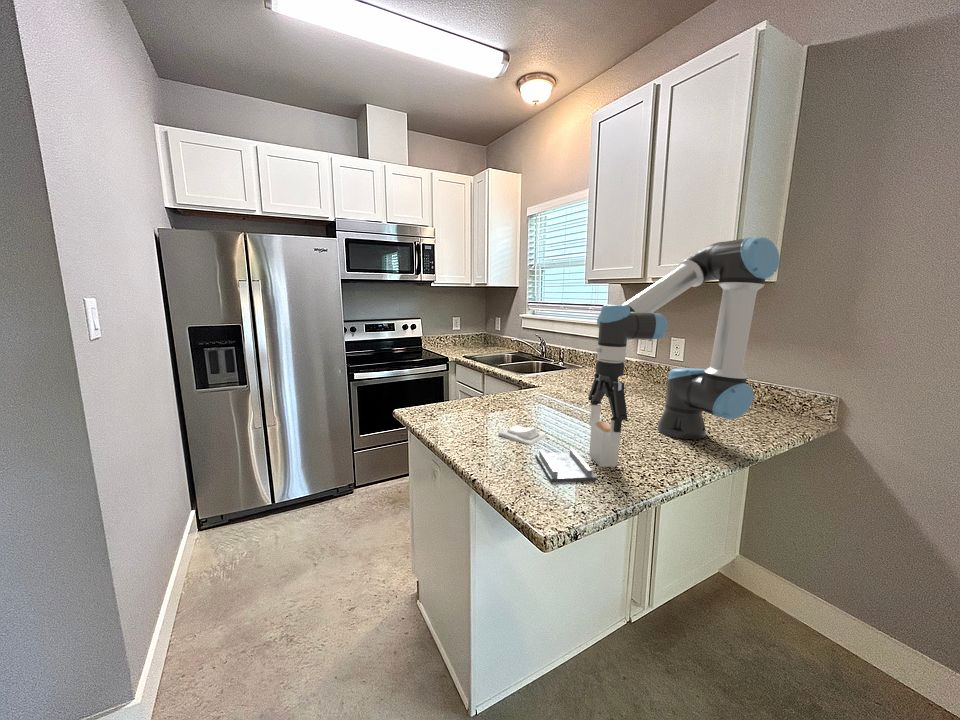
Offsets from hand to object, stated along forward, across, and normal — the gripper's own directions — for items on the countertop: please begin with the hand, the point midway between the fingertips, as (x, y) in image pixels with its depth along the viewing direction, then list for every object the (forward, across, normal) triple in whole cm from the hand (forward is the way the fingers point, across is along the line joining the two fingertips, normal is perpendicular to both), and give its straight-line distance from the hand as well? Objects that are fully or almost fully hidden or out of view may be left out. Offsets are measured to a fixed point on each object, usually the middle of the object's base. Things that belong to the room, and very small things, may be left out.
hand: (603, 433), depth 111 cm
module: (+8, 0, +1) cm, 8 cm away
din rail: (+8, +4, -12) cm, 16 cm away
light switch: (+9, -21, -18) cm, 30 cm away
